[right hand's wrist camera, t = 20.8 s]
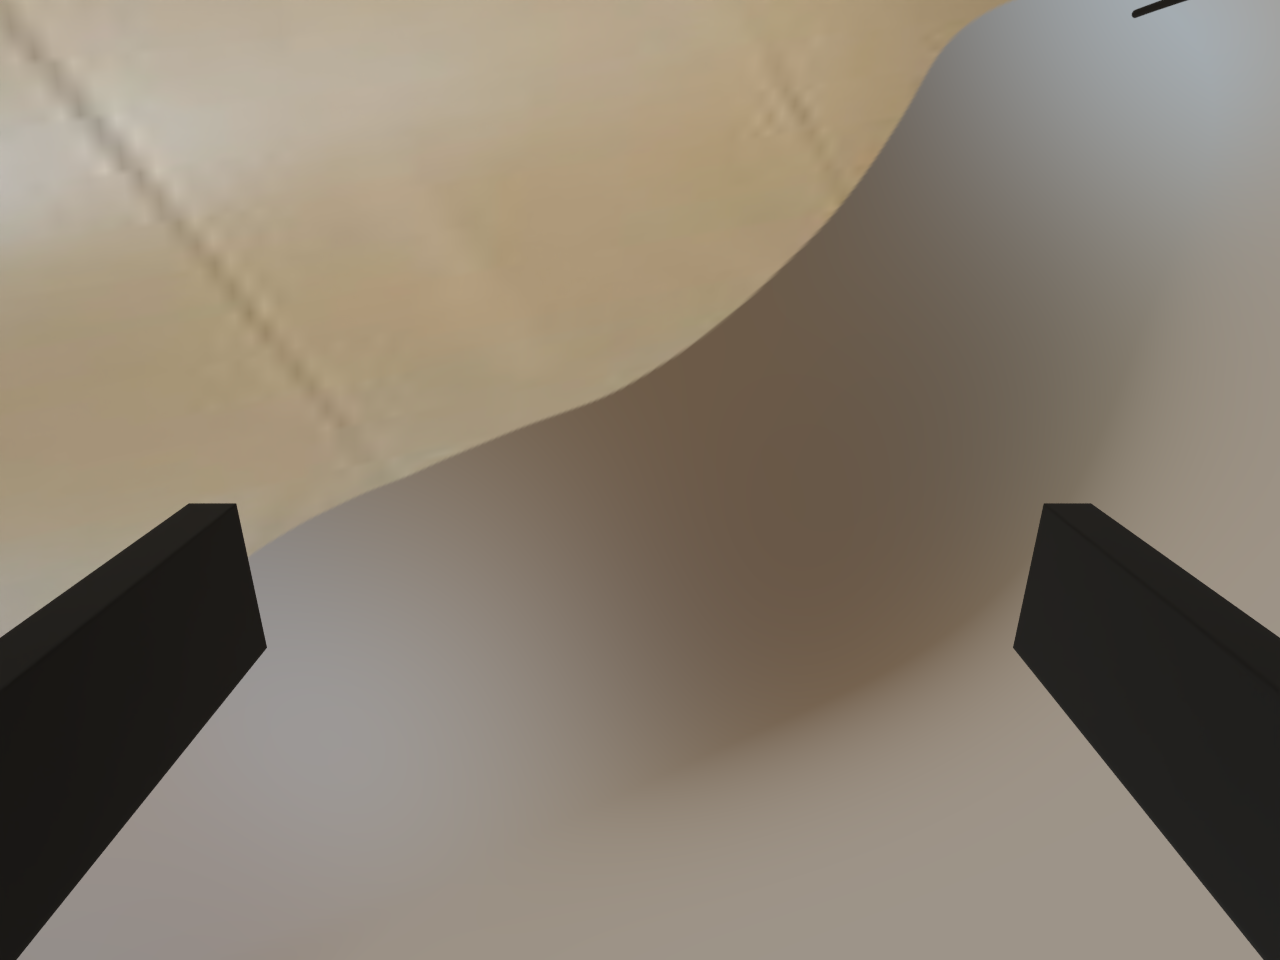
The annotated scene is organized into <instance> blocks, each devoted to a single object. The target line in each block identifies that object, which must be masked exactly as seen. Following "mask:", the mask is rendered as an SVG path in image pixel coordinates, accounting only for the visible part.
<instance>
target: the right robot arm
mask: <svg viewBox="0 0 1280 960" xmlns="http://www.w3.org/2000/svg"><path fill="white" fill-rule="evenodd" d="M1184 1H1187V0H1160V1H1158V2H1155V3H1152V4H1149V5H1147V6H1144V7H1141V8H1138V9H1136V10H1134V11H1133V12H1132V17H1133V18H1137V17H1140V16H1143V15H1145V14H1148V13H1151V12H1154V11H1157V10H1160V9H1163V8H1166V7H1169V6H1172V5H1175V4H1178V3H1181V2H1184ZM266 648H267V646H266V641H265V637H264V632H263V627H262V622H261V618H260V613H259V608H258V604H257V599H256V594H255V590H254V585H253V580H252V576H251V571H250V566H249V561H248V557H247V552H246V547H245V543H244V538H243V533H242V529H241V524H240V519H239V515H238V510H237V505H236V504H188V505H186V506H185V507H183V508H182V509H181V510H179V511H178V512H176V513H175V514H174V515H172V516H171V517H169V518H168V519H167V520H165V521H164V522H162V523H161V524H160V525H158V526H157V527H155V528H154V529H153V530H151V531H150V532H148V533H147V534H146V535H144V536H143V537H141V538H140V539H138V540H137V541H136V542H134V543H133V544H131V545H130V546H129V547H127V548H126V549H124V550H123V551H122V552H120V553H119V554H117V555H116V556H115V557H113V558H112V559H110V560H109V561H108V562H106V563H105V564H103V565H102V566H101V567H99V568H98V569H96V570H95V571H94V572H92V573H91V574H89V575H88V576H86V577H85V578H84V579H82V580H81V581H79V582H78V583H77V584H75V585H74V586H72V587H71V588H70V589H68V590H67V591H65V592H64V593H63V594H61V595H60V596H58V597H57V598H56V599H54V600H53V601H51V602H50V603H49V604H47V605H46V606H44V607H43V608H41V609H40V610H39V611H37V612H36V613H34V614H33V615H32V616H30V617H29V618H27V619H26V620H25V621H23V622H22V623H20V624H19V625H18V626H16V627H15V628H13V629H12V630H11V631H9V632H8V633H6V634H5V635H4V636H2V637H1V638H0V960H16V959H17V958H18V957H19V956H20V954H21V953H22V952H23V951H24V950H25V948H26V947H27V946H28V945H29V943H30V942H31V941H32V940H33V938H34V937H35V936H36V935H37V933H38V932H39V931H40V930H41V928H42V927H43V926H44V925H45V923H46V922H47V921H48V920H49V918H50V917H51V916H52V915H53V913H54V912H55V911H56V910H57V908H58V907H59V906H60V905H61V903H62V902H63V901H64V900H65V898H66V897H67V896H68V895H69V893H70V892H71V891H72V890H73V889H74V887H75V886H76V885H77V884H78V882H79V881H80V880H81V878H82V877H83V876H84V875H85V874H86V872H87V871H88V870H89V869H90V867H91V866H92V865H93V864H94V862H95V861H96V860H97V859H98V857H99V856H100V855H101V854H102V852H103V851H104V850H105V849H106V847H107V846H108V845H109V844H110V842H111V841H112V840H113V839H114V837H115V836H116V835H117V834H118V832H119V831H120V830H121V829H122V827H123V826H124V825H125V824H126V822H127V821H128V820H129V819H130V817H131V816H132V815H133V814H134V813H135V811H136V810H137V809H138V808H139V806H140V805H141V804H142V803H143V801H144V800H145V799H146V797H147V796H148V795H149V794H150V793H151V791H152V790H153V789H154V788H155V786H156V785H157V784H158V783H159V781H160V780H161V779H162V778H163V776H164V775H165V774H166V773H167V771H168V770H169V769H170V768H171V766H172V765H173V764H174V763H175V761H176V760H177V759H178V758H179V756H180V755H181V754H182V753H183V751H184V750H185V749H186V748H187V747H188V745H189V744H190V743H191V742H192V740H193V739H194V738H195V737H196V735H197V734H198V733H199V732H200V730H201V729H202V728H203V727H204V725H205V724H206V723H207V722H208V720H209V719H210V718H211V717H212V715H213V714H214V713H215V712H216V710H217V709H218V708H219V707H220V705H221V704H222V703H223V702H224V700H225V699H226V698H227V697H228V695H229V694H230V693H231V692H232V690H233V689H234V688H235V687H236V685H237V684H238V683H239V682H240V680H241V679H242V678H243V677H244V675H245V674H246V673H247V672H248V670H249V669H250V668H251V667H252V666H253V664H254V663H255V662H256V661H257V659H258V658H259V657H260V656H261V654H262V653H263V652H264V651H265V649H266ZM1013 648H1014V649H1015V651H1016V652H1017V653H1018V654H1019V656H1020V657H1021V658H1022V659H1023V661H1024V662H1025V663H1026V664H1027V665H1028V667H1029V668H1030V669H1031V670H1032V672H1033V673H1034V674H1035V675H1036V677H1037V678H1038V679H1039V680H1040V682H1041V683H1042V684H1043V685H1044V687H1045V688H1046V689H1047V690H1048V692H1049V693H1050V694H1051V695H1052V697H1053V698H1054V699H1055V700H1056V702H1057V703H1058V704H1059V705H1060V707H1061V708H1062V709H1063V710H1064V712H1065V713H1066V714H1067V715H1068V717H1069V718H1070V719H1071V720H1072V722H1073V723H1074V724H1075V725H1076V727H1077V728H1078V729H1079V730H1080V731H1081V733H1082V734H1083V735H1084V737H1085V738H1086V739H1087V740H1088V741H1089V743H1090V744H1091V745H1092V746H1093V748H1094V749H1095V750H1096V751H1097V753H1098V754H1099V755H1100V756H1101V758H1102V759H1103V760H1104V761H1105V763H1106V764H1107V765H1108V766H1109V768H1110V769H1111V770H1112V771H1113V773H1114V774H1115V775H1116V776H1117V778H1118V779H1119V780H1120V781H1121V783H1122V784H1123V785H1124V786H1125V788H1126V789H1127V790H1128V791H1129V793H1130V794H1131V795H1132V796H1133V797H1134V799H1135V800H1136V801H1137V803H1138V804H1139V805H1140V806H1141V808H1142V809H1143V810H1144V811H1145V813H1146V814H1147V815H1148V816H1149V818H1150V819H1151V820H1152V821H1153V822H1154V824H1155V825H1156V826H1157V827H1158V829H1159V830H1160V831H1161V832H1162V834H1163V835H1164V836H1165V837H1166V839H1167V840H1168V841H1169V842H1170V844H1171V845H1172V846H1173V847H1174V849H1175V850H1176V851H1177V852H1178V854H1179V855H1180V856H1181V857H1182V859H1183V860H1184V861H1185V862H1186V863H1187V865H1188V866H1189V867H1190V869H1191V870H1192V871H1193V872H1194V873H1195V875H1196V876H1197V877H1198V879H1199V880H1200V881H1201V882H1202V883H1203V885H1204V886H1205V887H1206V889H1207V890H1208V891H1209V892H1210V893H1211V895H1212V896H1213V897H1214V898H1215V900H1216V901H1217V902H1218V903H1219V905H1220V906H1221V907H1222V908H1223V910H1224V911H1225V912H1226V913H1227V915H1228V916H1229V917H1230V918H1231V920H1232V921H1233V922H1234V923H1235V925H1236V926H1237V927H1238V928H1239V930H1240V931H1241V932H1242V933H1243V935H1244V936H1245V937H1246V938H1247V940H1248V941H1249V942H1250V943H1251V945H1252V946H1253V947H1254V948H1255V949H1256V951H1257V952H1258V953H1259V955H1260V956H1261V957H1262V958H1263V960H1280V638H1279V637H1278V636H1276V635H1275V634H1274V633H1272V632H1271V631H1269V630H1268V629H1267V628H1265V627H1264V626H1262V625H1261V624H1260V623H1258V622H1257V621H1255V620H1254V619H1253V618H1251V617H1250V616H1248V615H1247V614H1246V613H1244V612H1243V611H1241V610H1240V609H1238V608H1237V607H1236V606H1234V605H1233V604H1231V603H1230V602H1229V601H1227V600H1226V599H1224V598H1223V597H1222V596H1220V595H1219V594H1217V593H1216V592H1215V591H1213V590H1212V589H1210V588H1209V587H1208V586H1206V585H1205V584H1203V583H1202V582H1200V581H1199V580H1198V579H1196V578H1195V577H1194V576H1192V575H1191V574H1189V573H1188V572H1186V571H1185V570H1184V569H1182V568H1181V567H1179V566H1178V565H1177V564H1175V563H1174V562H1172V561H1171V560H1169V559H1168V558H1167V557H1165V556H1164V555H1163V554H1161V553H1160V552H1158V551H1157V550H1156V549H1154V548H1153V547H1151V546H1150V545H1149V544H1147V543H1146V542H1144V541H1143V540H1141V539H1140V538H1139V537H1137V536H1136V535H1134V534H1133V533H1132V532H1130V531H1129V530H1127V529H1126V528H1125V527H1123V526H1122V525H1120V524H1119V523H1118V522H1116V521H1115V520H1113V519H1112V518H1111V517H1109V516H1108V515H1106V514H1105V513H1104V512H1102V511H1101V510H1099V509H1098V508H1097V507H1095V506H1094V505H1092V504H1044V505H1043V510H1042V515H1041V519H1040V524H1039V529H1038V533H1037V538H1036V543H1035V547H1034V552H1033V557H1032V561H1031V566H1030V571H1029V576H1028V580H1027V585H1026V590H1025V594H1024V599H1023V604H1022V608H1021V613H1020V618H1019V623H1018V627H1017V632H1016V637H1015V641H1014V646H1013Z"/></svg>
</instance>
